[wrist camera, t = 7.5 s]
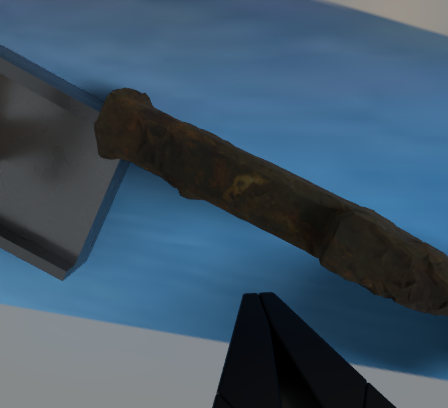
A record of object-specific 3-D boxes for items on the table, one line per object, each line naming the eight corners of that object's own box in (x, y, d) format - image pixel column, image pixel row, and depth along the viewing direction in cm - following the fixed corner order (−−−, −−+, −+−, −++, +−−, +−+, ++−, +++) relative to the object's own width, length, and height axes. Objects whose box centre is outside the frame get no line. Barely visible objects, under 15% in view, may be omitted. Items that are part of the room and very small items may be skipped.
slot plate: (145, 125, 21) (126, 127, 18) (86, 260, 24) (62, 281, 21) (2, 45, 20) (-41, 34, 17) (-38, 193, 24) (-79, 205, 21)
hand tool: (129, 155, 20) (69, 152, 16) (151, 94, 19) (92, 74, 15) (431, 331, 15) (459, 397, 11) (485, 260, 14) (542, 302, 9)
